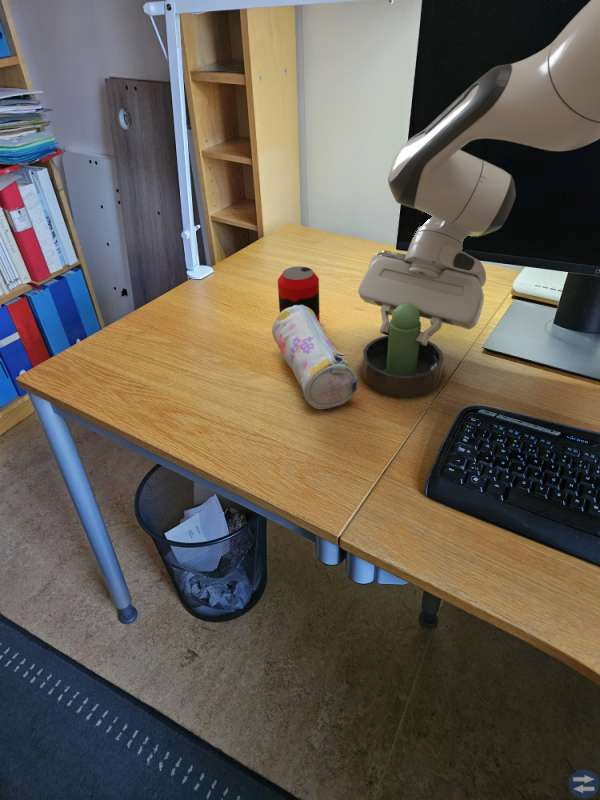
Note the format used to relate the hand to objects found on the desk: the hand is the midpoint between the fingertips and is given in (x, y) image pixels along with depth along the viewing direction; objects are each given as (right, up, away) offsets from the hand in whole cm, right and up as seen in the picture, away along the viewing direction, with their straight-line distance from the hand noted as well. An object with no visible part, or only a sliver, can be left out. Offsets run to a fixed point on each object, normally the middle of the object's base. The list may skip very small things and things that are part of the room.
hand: (402, 339), depth 91 cm
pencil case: (-15, -6, +5) cm, 17 cm away
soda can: (-17, +3, +18) cm, 25 cm away
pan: (+1, -6, +5) cm, 7 cm away
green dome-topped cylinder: (+1, -5, +4) cm, 6 cm away
